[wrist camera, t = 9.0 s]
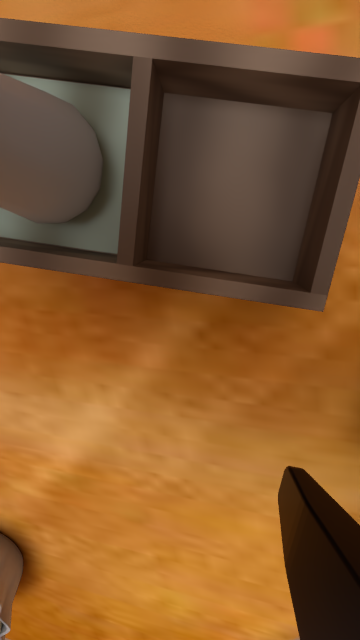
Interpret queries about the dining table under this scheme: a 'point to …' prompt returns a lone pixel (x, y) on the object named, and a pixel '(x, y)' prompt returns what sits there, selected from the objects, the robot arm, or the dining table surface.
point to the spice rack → (197, 161)
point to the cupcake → (8, 580)
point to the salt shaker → (45, 155)
